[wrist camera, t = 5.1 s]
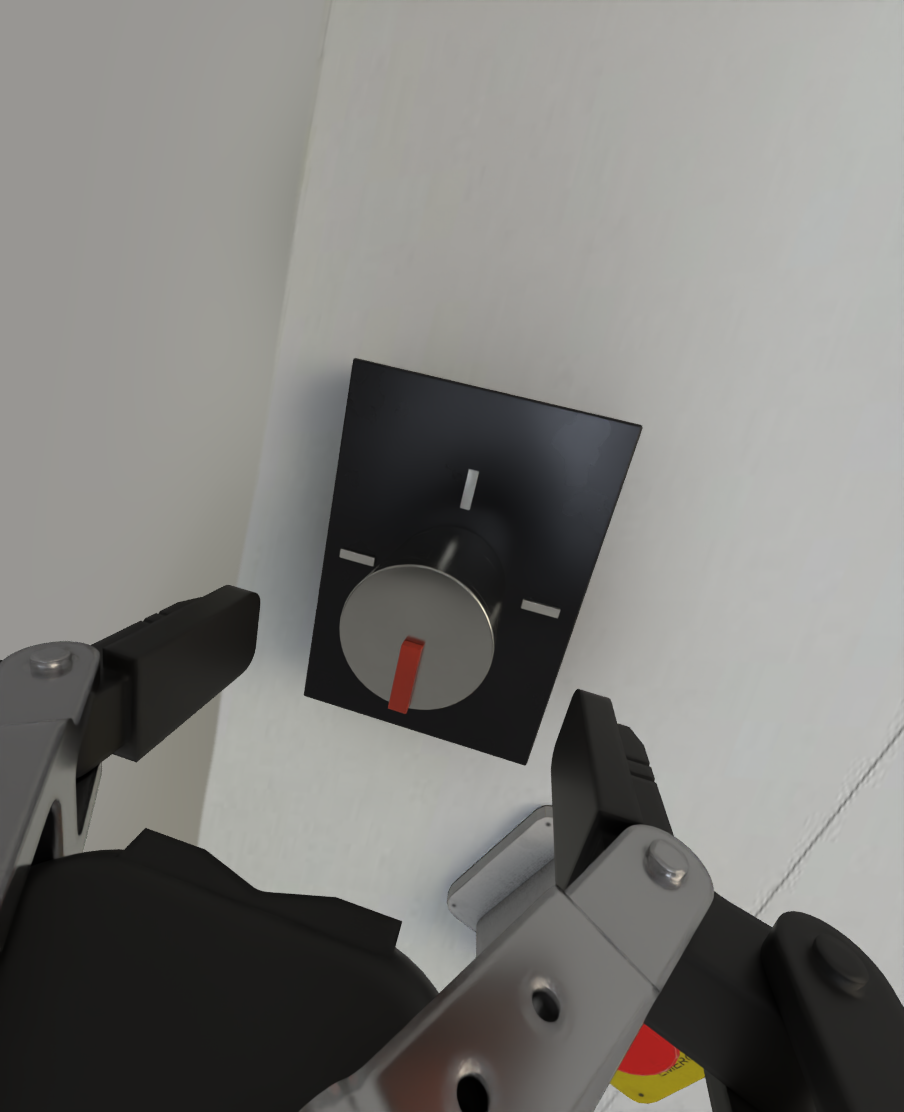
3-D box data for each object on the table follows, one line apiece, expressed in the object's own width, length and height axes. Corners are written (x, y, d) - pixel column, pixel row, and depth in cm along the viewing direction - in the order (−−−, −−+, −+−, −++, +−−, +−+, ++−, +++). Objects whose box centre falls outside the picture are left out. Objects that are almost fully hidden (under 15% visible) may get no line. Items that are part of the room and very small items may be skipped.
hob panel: (380, 367, 19) (350, 356, 16) (626, 425, 18) (645, 425, 15) (331, 662, 23) (301, 698, 20) (527, 722, 22) (526, 769, 19)
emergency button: (671, 1164, 22) (423, 984, 22) (649, 1047, 26) (441, 894, 26) (835, 1092, 19) (551, 881, 19) (781, 973, 23) (548, 798, 23)
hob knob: (403, 511, 17) (347, 548, 12) (519, 542, 16) (512, 594, 11) (382, 617, 18) (324, 690, 13) (489, 648, 18) (470, 736, 13)
